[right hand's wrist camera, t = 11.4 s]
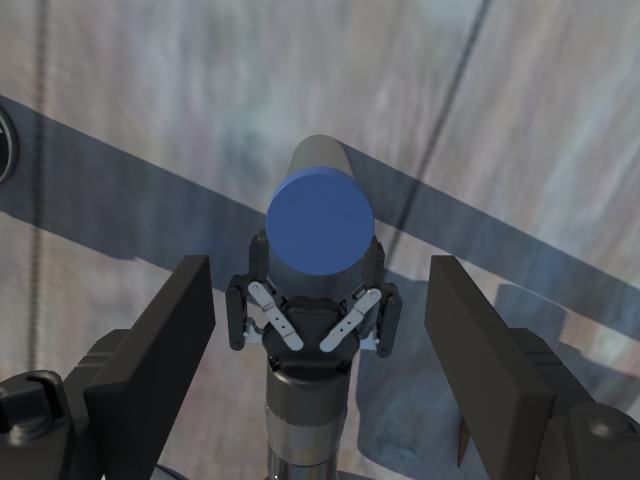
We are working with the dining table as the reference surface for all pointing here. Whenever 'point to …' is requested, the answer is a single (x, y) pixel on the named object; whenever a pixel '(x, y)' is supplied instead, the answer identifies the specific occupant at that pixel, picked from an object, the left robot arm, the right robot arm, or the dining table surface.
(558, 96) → the dining table surface
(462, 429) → the fork
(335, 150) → the jar
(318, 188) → the lid
